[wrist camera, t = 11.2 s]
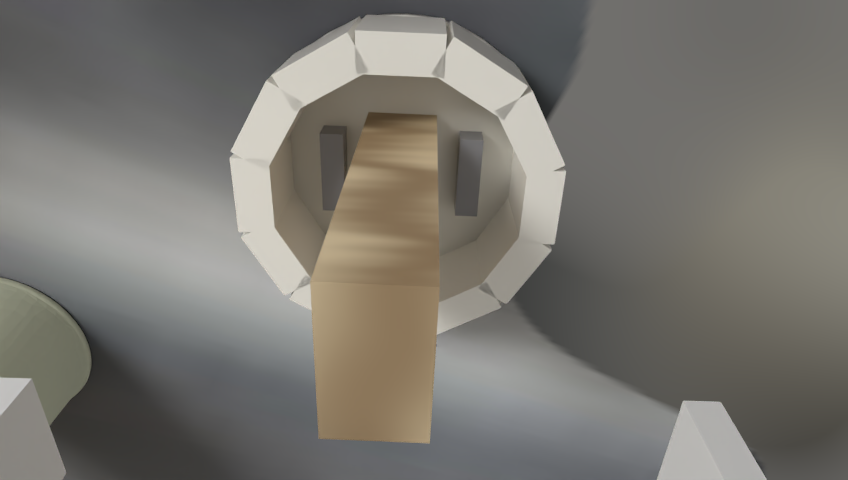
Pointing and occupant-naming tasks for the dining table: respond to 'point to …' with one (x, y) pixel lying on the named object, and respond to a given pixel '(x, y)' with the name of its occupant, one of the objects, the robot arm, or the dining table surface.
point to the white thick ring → (456, 141)
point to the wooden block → (380, 288)
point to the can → (42, 346)
